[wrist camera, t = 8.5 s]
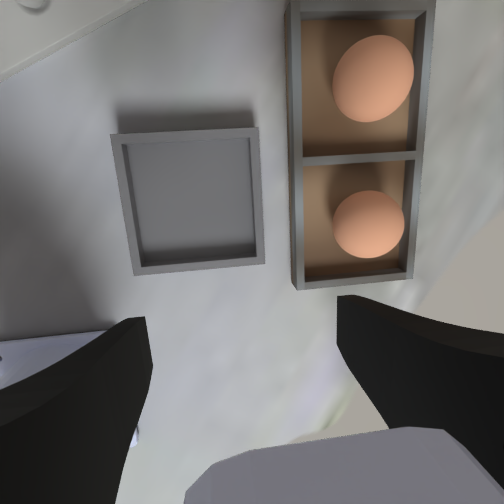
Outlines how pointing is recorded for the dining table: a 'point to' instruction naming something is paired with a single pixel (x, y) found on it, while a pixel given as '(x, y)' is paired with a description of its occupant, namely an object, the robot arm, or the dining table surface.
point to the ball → (373, 78)
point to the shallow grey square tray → (191, 199)
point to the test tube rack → (49, 27)
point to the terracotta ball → (368, 224)
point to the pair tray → (351, 136)
